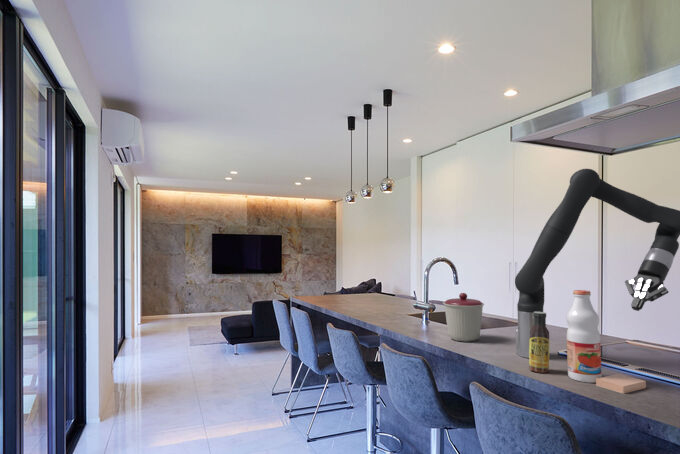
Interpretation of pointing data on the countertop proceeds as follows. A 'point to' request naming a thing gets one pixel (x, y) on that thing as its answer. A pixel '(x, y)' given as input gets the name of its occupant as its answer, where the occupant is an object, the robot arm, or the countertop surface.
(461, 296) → the canister
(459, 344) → the countertop surface
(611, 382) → the pale green flat block
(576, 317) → the fruit juice
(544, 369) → the sauce bottle
